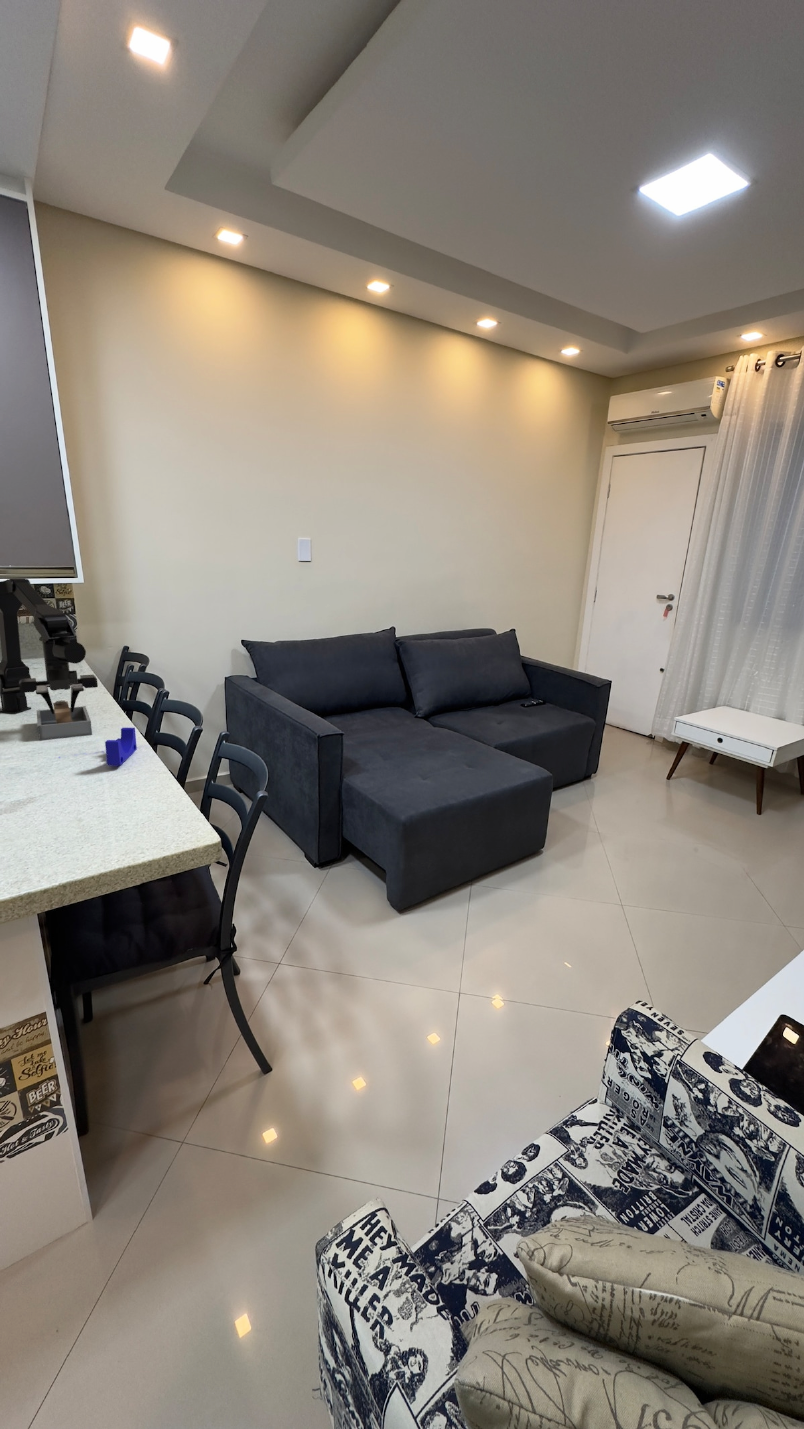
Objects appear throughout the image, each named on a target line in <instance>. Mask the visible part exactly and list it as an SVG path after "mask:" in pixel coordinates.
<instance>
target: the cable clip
mask: <svg viewBox="0 0 804 1429" xmlns="http://www.w3.org/2000/svg"><path fill="white" fill-rule="evenodd" d="M136 736H137V735H136V727H122V728H121V729H120V738H118V737H117V739H107V740H106V741H104V744H105V746H104V747H105V755H106V765H107V766H121V765H122V764H124V762H126V760H128V758H130V757H131V756H132V755H133V754H134V753H135V752H136V751H137V750H138V747H137V737H136Z"/></svg>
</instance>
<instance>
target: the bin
mask: <svg viewBox="0 0 804 1429" xmlns="http://www.w3.org/2000/svg"><path fill="white" fill-rule="evenodd" d="M69 709H70V714H71V720H72V722H68V723H58V724H57V721H56V716H55V710H54V708H53V710H54V714H52V712H51V710H50V708H49V709H39V710H36V720H37V731H38V732H37V733H38V739H39V741H47V740H48V741H49V740H55V739H56V740H57V739H68V738H75V737H76V738H77V737H82V736H83V737H84V736H86V737H87V736H91V735H93V729H92V728H93V727H92V720H91V718H90V715H89V712H88V709H87V707H86V705H82V706H74V710H73V712H71V706H69Z"/></svg>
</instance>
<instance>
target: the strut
mask: <svg viewBox="0 0 804 1429" xmlns="http://www.w3.org/2000/svg"><path fill="white" fill-rule="evenodd" d="M52 705H53V709H54V710H55V716H56V721H57V724H58V723H68V722H72V720H71V714H70V709H69V708H70V705H69V702H68V701H66V700H62V699H61V700H56V701H55V702H52Z"/></svg>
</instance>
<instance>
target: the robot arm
mask: <svg viewBox="0 0 804 1429" xmlns="http://www.w3.org/2000/svg"><path fill="white" fill-rule="evenodd" d="M22 606H23V607H25V609H26V610H27V611H28V612H29V613H30V614H31V616H32V617H33V626H34V628H35V630H36V631H37V633H38V634H39V635H40V637H39V639H38V640H39V641H40V642H42V650H43V658H44V659H43V660H44V666H45V676H46V677H45V678H46V680H37V678H36V677H32V676H31V674H30V673H31V672H30V667H29V666H27V665H26V664H25V663H24V662H23V661H22V650H21V641H20V629H19V627H20V626H19V618H18V617H19V616H18V615H19V613H18V612H19V611H20V609H21V608H22ZM76 632H77V631H76V630H75V628H74V626H73V625H72V623H71V621H70V620H69V618H68V617H67V614H65V613H64V611H63V612H62V610H60V609H59V608H56V607H54V606H51V605H50V604H48V603H47V602H46V600H45V599H44V598H43V597H42V596H41V595H40V594H39V593H38V591H37V590H36V589H35V587H33V586H32V584H31V581H30V580H29V579H28V578H24V577H20V578H18V577H17V578H16V577H15V578H14V577H13V578H12V577H11V578H8V579H6V580H3V581H0V649H1V650H0V651H1V660H0V705H1V709H0V713H5V714H14V715H15V714H18V713H21V712H25V711H28V710H31V709H32V706H28V700H27V699H28V698H27V696H26V693H34V692H35V694H36V695H39V696H41V697H42V698H43V699H44V701H45V703H46V705H47V706H48V708H49V709H50V710H51V712H52V714H54V710H53V709H54V704H53V701H52V699H51V698H52V697H51V695H50V691H49V690H51V691H52V692H53V691H58V690H64V691H65V690H66V691H67V690H70V707H71V712H73V710H74V707H76V702H77V699H78V696H79V694H80V692H83V691H85V689H93V688H95V689H96V688H98V678H97V676H96V675H95V674H81V675H79V678H78V673H77V670H70V664H79V663H82V661H84V659H85V658H86V653H87V651H86V649H85V647H84V646H83V644H82V643H80V642H78V639H77V638H78V636H77V634H76ZM84 688H85V689H84Z"/></svg>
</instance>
